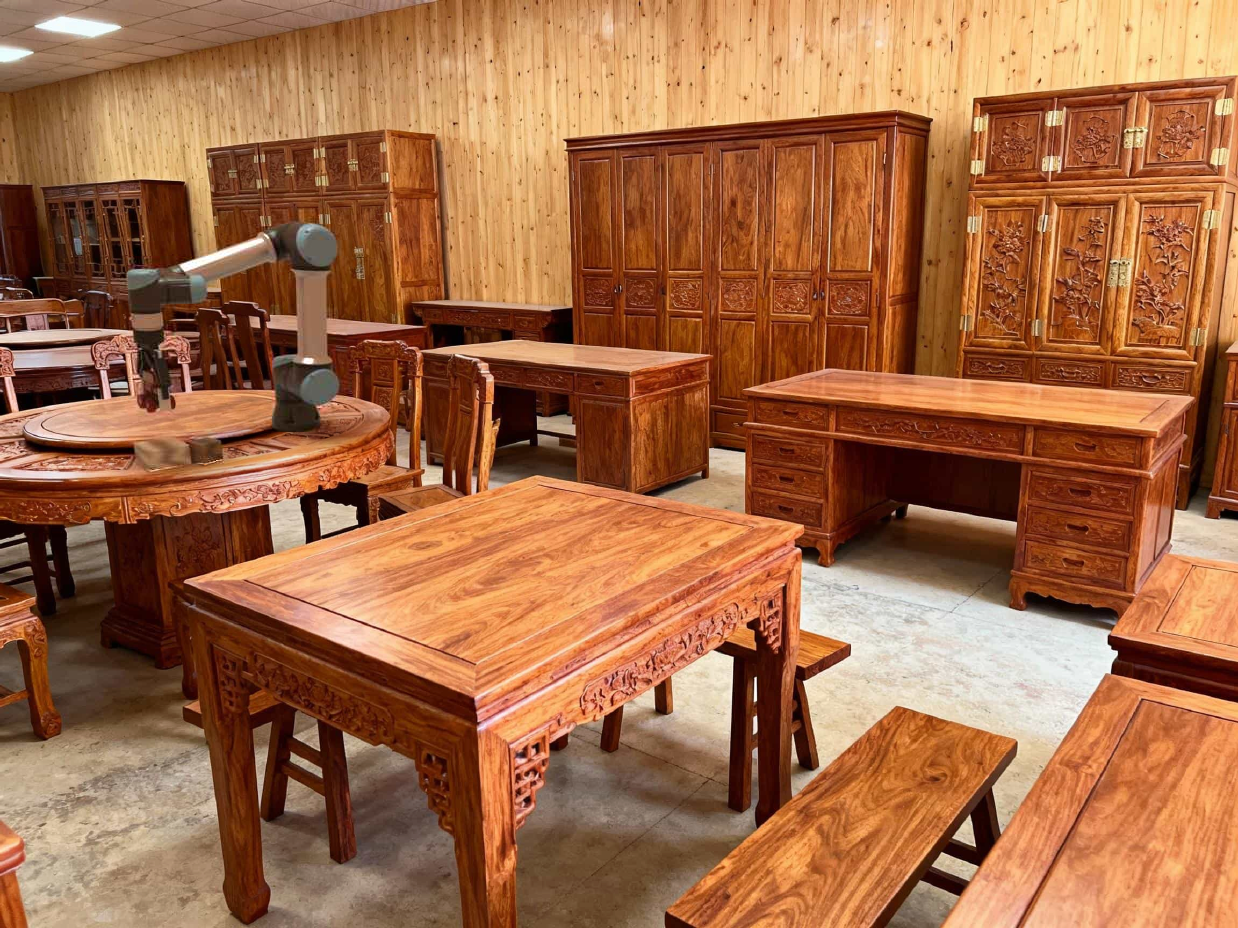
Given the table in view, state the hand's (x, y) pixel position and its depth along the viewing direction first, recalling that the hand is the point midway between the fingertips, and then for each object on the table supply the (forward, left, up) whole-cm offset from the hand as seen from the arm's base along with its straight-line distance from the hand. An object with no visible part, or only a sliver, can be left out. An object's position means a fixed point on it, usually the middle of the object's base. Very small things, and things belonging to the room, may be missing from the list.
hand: (157, 405), depth 253 cm
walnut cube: (-10, +5, -17) cm, 20 cm away
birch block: (0, 0, -17) cm, 17 cm away
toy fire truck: (0, 0, -1) cm, 1 cm away
